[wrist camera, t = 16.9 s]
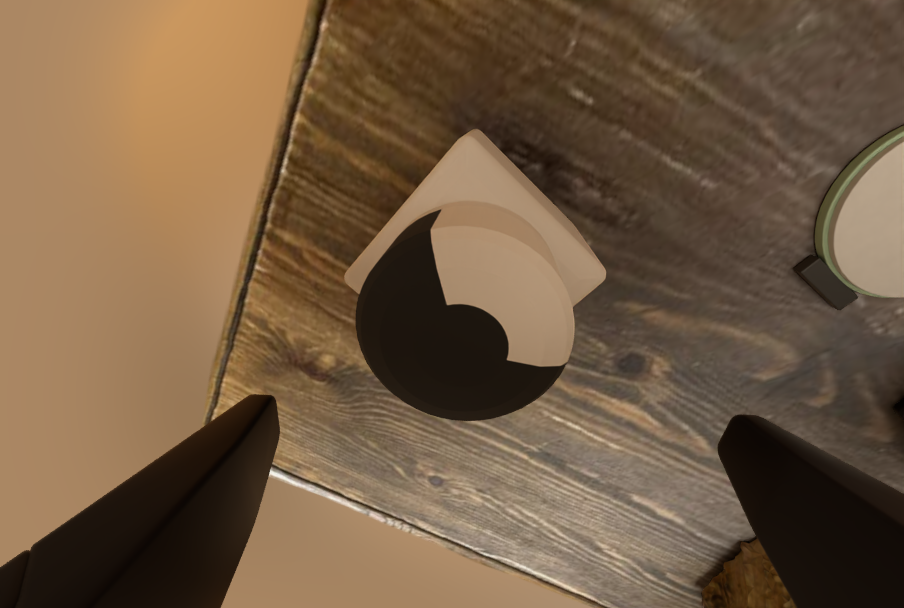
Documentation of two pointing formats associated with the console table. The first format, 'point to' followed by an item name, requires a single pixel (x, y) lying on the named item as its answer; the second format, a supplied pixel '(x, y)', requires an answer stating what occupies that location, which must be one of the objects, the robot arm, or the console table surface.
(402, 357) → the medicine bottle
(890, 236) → the scale
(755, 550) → the seashell
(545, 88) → the console table surface
